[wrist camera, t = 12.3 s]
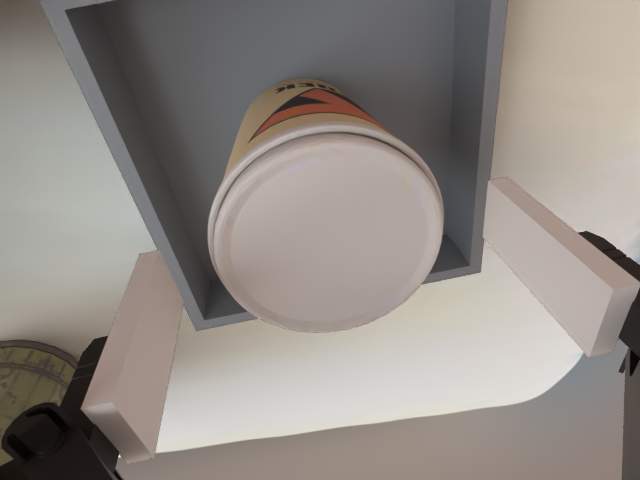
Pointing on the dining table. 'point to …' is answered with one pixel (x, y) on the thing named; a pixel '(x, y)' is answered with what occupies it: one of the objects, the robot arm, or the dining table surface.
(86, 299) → the dining table surface
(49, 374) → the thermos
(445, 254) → the tray
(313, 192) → the coffee cup
